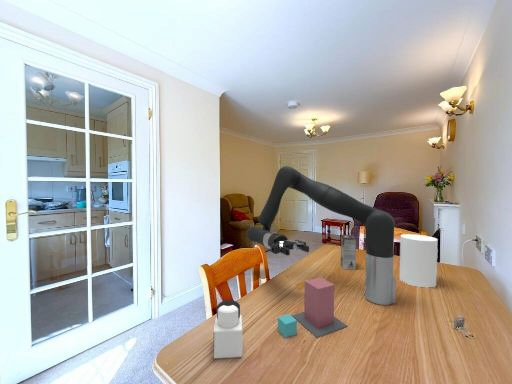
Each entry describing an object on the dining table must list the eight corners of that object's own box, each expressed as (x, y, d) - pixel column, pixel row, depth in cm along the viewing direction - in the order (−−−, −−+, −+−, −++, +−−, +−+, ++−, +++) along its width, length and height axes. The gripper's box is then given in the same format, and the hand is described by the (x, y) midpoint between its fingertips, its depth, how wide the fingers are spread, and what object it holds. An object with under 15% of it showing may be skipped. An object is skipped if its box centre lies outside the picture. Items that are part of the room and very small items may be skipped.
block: (288, 326, 71) (288, 313, 71) (296, 333, 67) (296, 320, 67) (277, 330, 69) (277, 317, 69) (285, 338, 66) (285, 324, 65)
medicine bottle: (216, 340, 64) (215, 297, 64) (241, 338, 65) (241, 296, 65) (213, 359, 57) (213, 311, 57) (242, 357, 58) (242, 310, 58)
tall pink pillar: (319, 312, 78) (320, 277, 77) (333, 322, 72) (334, 284, 72) (304, 317, 75) (304, 280, 75) (317, 328, 69) (318, 289, 69)
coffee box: (340, 263, 128) (340, 234, 127) (352, 264, 127) (352, 234, 126) (342, 269, 119) (343, 238, 118) (356, 270, 118) (356, 238, 117)
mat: (320, 307, 82) (320, 306, 82) (347, 326, 71) (347, 325, 71) (292, 316, 76) (292, 315, 76) (316, 337, 66) (316, 336, 66)
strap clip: (478, 339, 66) (479, 324, 66) (468, 340, 66) (469, 325, 65) (450, 321, 74) (451, 308, 74) (442, 322, 74) (442, 308, 74)
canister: (402, 284, 101) (404, 239, 100) (396, 273, 113) (398, 233, 112) (441, 290, 96) (442, 242, 95) (430, 278, 108) (431, 235, 107)
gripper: (260, 234, 94) (281, 242, 79) (289, 231, 100) (314, 238, 86) (260, 253, 94) (282, 264, 80) (289, 248, 100) (314, 258, 86)
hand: (298, 250), depth 83 cm, fingers open, 8 cm apart
